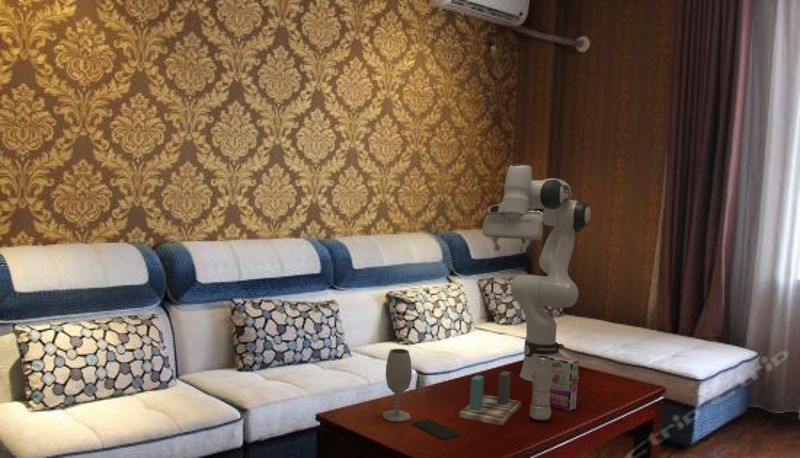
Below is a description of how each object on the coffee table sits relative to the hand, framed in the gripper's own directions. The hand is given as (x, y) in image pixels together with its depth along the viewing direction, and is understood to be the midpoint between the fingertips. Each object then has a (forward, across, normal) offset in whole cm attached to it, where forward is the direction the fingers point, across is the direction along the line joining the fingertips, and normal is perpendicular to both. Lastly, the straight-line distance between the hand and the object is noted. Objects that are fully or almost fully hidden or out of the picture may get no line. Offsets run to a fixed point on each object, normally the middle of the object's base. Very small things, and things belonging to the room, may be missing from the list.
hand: (509, 251), depth 230 cm
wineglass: (+58, +22, +19) cm, 65 cm away
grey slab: (+49, 0, -10) cm, 50 cm away
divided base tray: (+52, +2, -5) cm, 52 cm away
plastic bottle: (+52, -14, -9) cm, 54 cm away
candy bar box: (+48, -13, -24) cm, 55 cm away
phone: (+59, +8, +20) cm, 63 cm away
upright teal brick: (+52, +4, +1) cm, 52 cm away
